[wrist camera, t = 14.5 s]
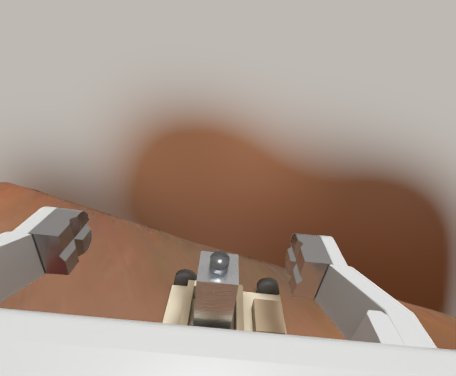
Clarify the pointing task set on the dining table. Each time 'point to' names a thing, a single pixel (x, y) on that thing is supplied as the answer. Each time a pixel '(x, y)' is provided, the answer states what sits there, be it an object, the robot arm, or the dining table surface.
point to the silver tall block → (216, 289)
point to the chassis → (243, 311)
